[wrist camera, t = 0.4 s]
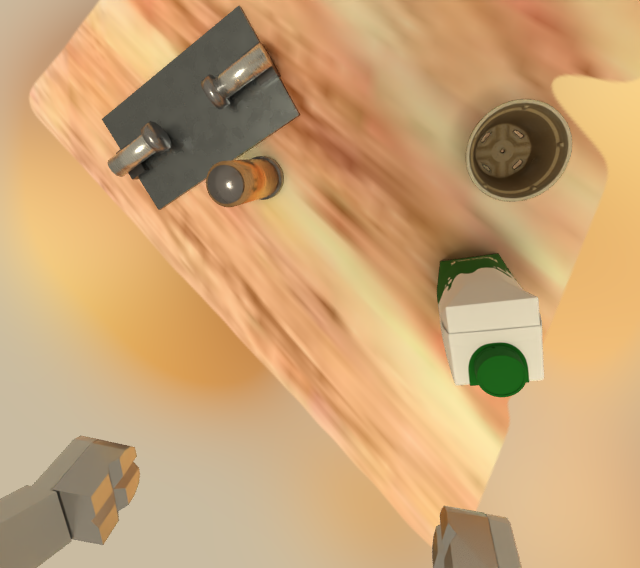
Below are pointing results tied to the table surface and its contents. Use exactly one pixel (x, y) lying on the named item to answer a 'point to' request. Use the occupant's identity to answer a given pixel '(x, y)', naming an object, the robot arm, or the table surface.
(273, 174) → the amber capped cylinder
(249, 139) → the shaft bench
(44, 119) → the table surface
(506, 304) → the milk carton
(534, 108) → the flower pot
